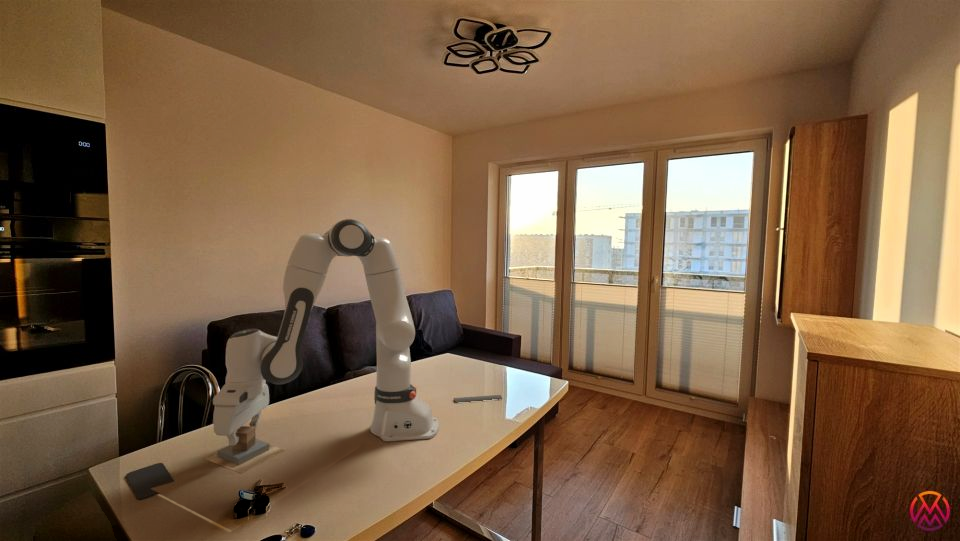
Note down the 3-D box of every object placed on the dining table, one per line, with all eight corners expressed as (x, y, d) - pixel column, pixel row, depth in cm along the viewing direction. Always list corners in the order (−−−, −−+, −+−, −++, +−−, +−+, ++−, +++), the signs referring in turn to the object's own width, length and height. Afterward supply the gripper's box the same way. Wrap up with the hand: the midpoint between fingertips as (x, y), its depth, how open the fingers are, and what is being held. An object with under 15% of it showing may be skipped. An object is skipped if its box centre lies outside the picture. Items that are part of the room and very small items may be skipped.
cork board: (285, 451, 110) (285, 450, 110) (241, 475, 98) (241, 473, 98) (250, 439, 116) (250, 438, 116) (205, 460, 104) (205, 458, 104)
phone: (137, 500, 87) (124, 473, 96) (137, 503, 87) (124, 476, 96) (177, 485, 93) (162, 461, 102) (178, 488, 93) (162, 464, 102)
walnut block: (255, 443, 109) (255, 426, 109) (246, 450, 105) (246, 433, 105) (241, 443, 109) (241, 426, 109) (232, 450, 105) (232, 432, 105)
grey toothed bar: (502, 401, 154) (502, 397, 154) (455, 404, 149) (455, 400, 149) (499, 397, 158) (499, 393, 158) (453, 400, 153) (453, 396, 153)
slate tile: (269, 443, 110) (248, 436, 113) (238, 458, 101) (217, 450, 105) (269, 450, 110) (248, 442, 113) (238, 465, 101) (217, 457, 105)
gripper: (254, 375, 117) (254, 418, 117) (208, 401, 96) (208, 454, 97) (275, 375, 117) (274, 419, 118) (233, 402, 96) (233, 455, 97)
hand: (244, 435), depth 107 cm, fingers open, 8 cm apart
